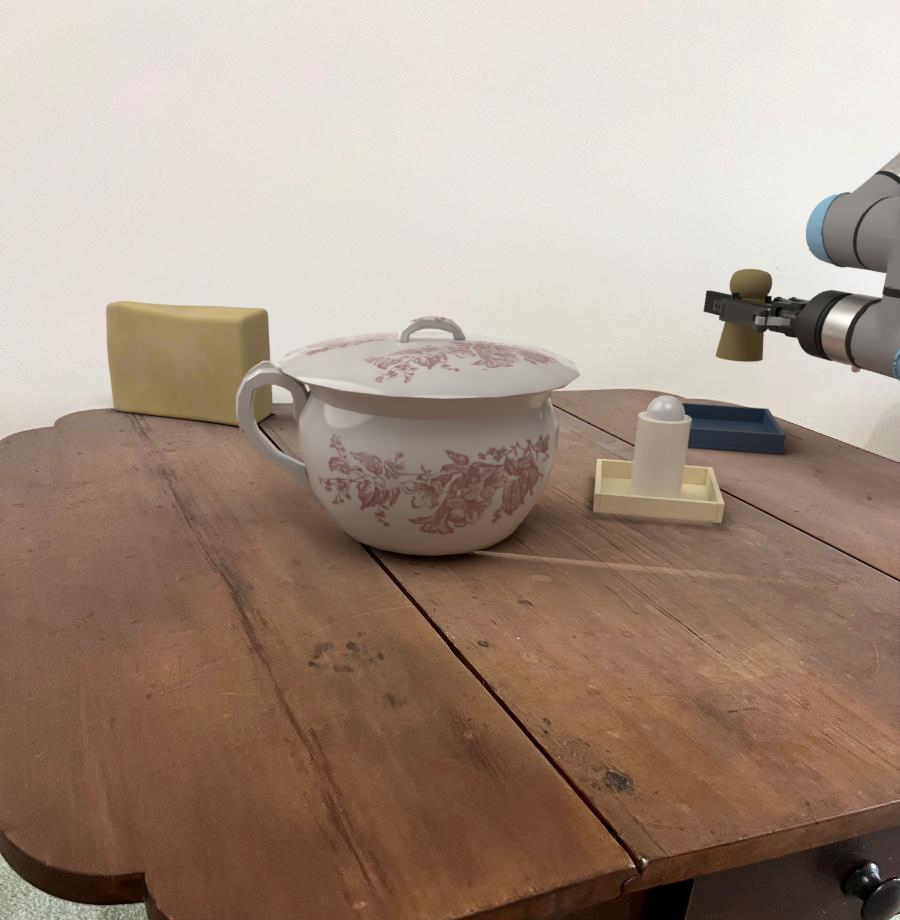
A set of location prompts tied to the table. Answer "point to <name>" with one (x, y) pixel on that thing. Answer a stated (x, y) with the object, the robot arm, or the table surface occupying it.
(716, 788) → the table surface
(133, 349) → the cheese
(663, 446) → the salt shaker
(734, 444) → the dark tray
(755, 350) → the olive tapered knobbed cylinder
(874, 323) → the robot arm
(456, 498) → the chamber pot
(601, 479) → the light tray
